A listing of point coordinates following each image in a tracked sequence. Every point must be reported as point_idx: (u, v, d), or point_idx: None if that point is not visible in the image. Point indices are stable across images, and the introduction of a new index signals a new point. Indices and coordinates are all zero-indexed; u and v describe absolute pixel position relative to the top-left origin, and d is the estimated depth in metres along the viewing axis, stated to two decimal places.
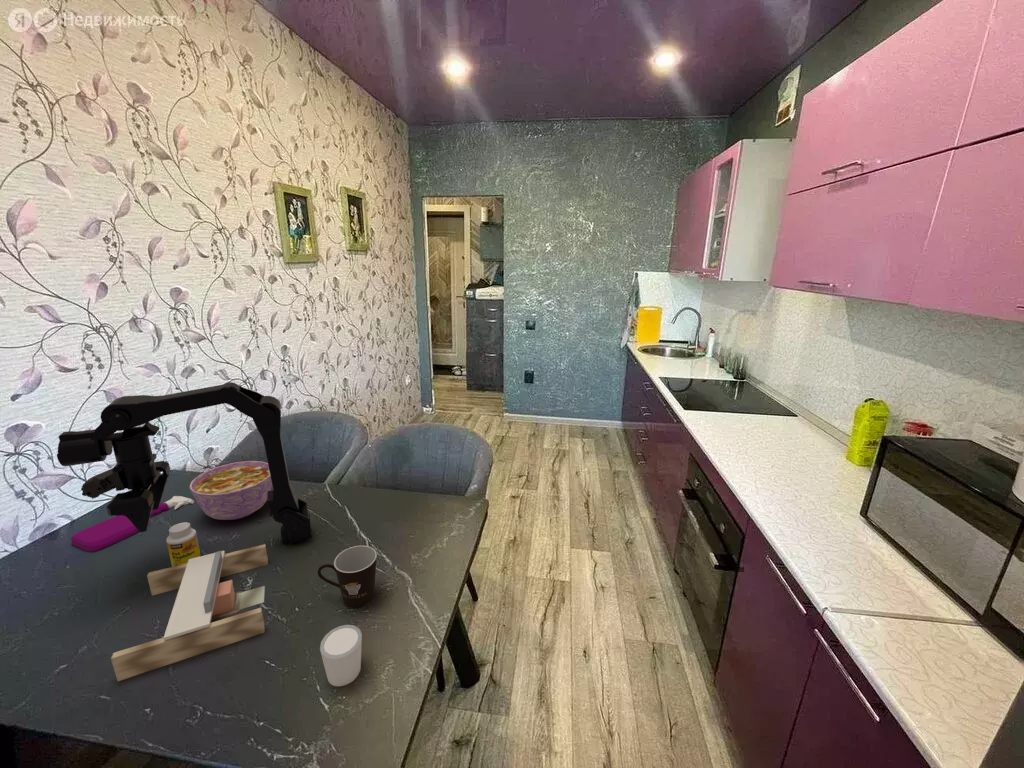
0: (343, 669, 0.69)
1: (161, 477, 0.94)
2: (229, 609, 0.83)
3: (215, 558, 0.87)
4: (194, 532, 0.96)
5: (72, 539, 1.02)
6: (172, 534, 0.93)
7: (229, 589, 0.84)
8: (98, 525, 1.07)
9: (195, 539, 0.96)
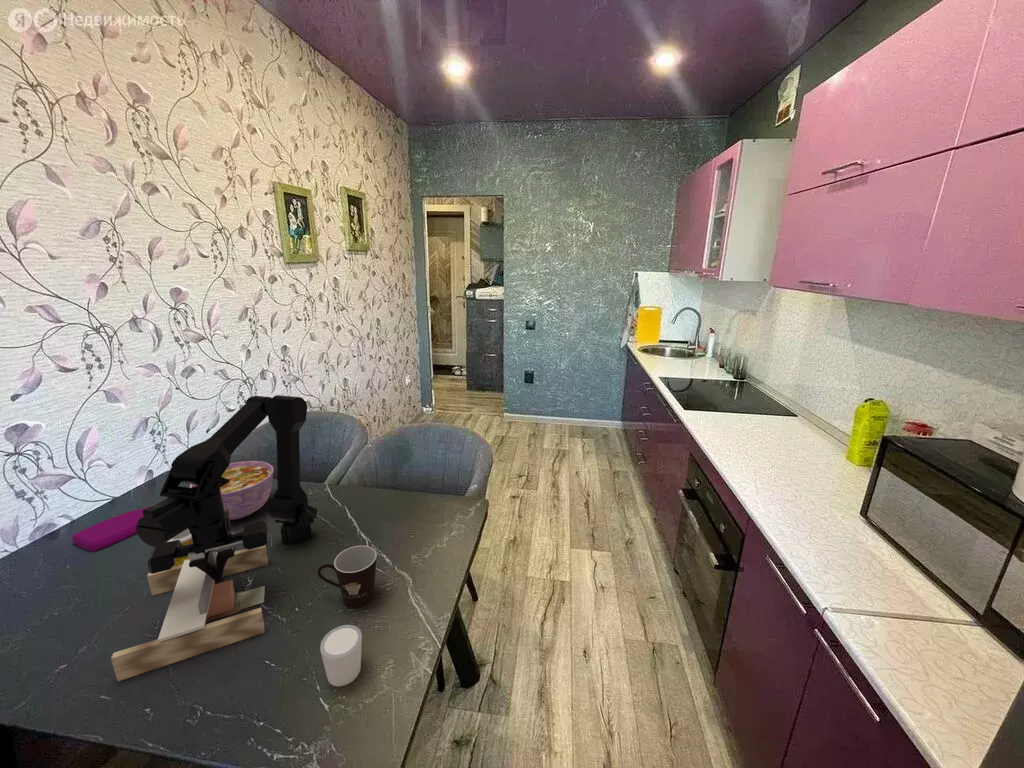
0: (343, 669, 0.69)
1: (224, 554, 0.80)
2: (229, 609, 0.83)
3: None
4: None
5: (73, 538, 1.02)
6: None
7: (229, 589, 0.84)
8: (99, 524, 1.07)
9: None
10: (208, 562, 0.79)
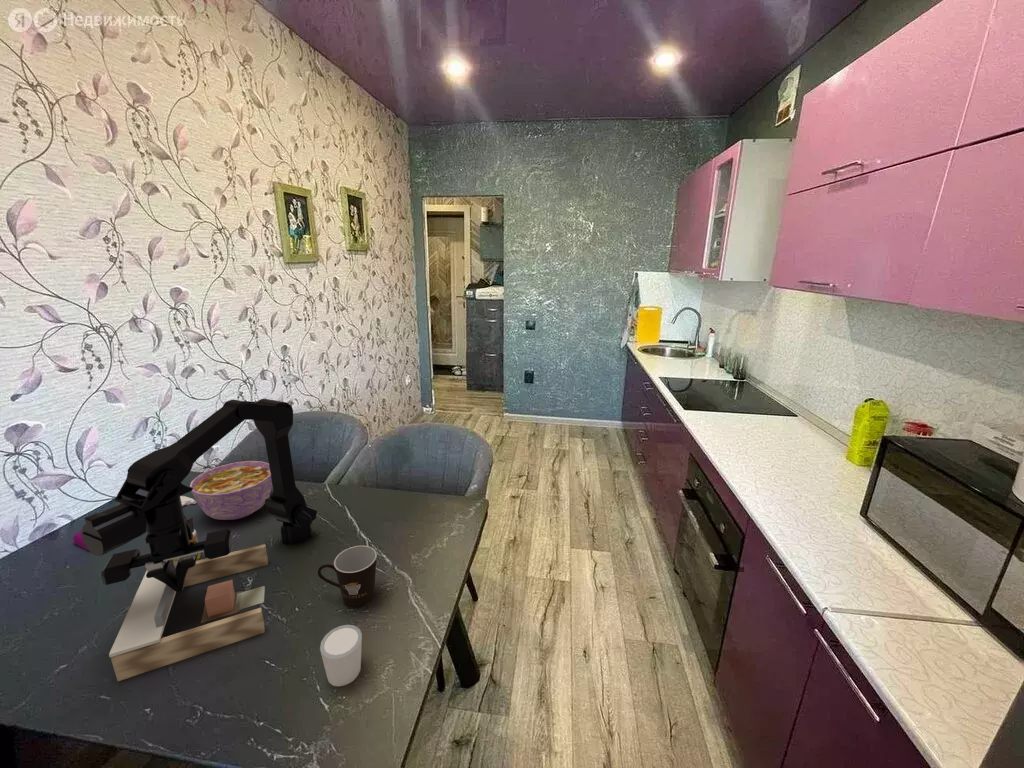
0: (343, 669, 0.69)
1: (184, 563, 0.78)
2: (229, 609, 0.83)
3: None
4: (194, 532, 0.96)
5: (74, 538, 1.02)
6: None
7: (229, 589, 0.84)
8: None
9: (195, 539, 0.96)
10: (167, 572, 0.76)
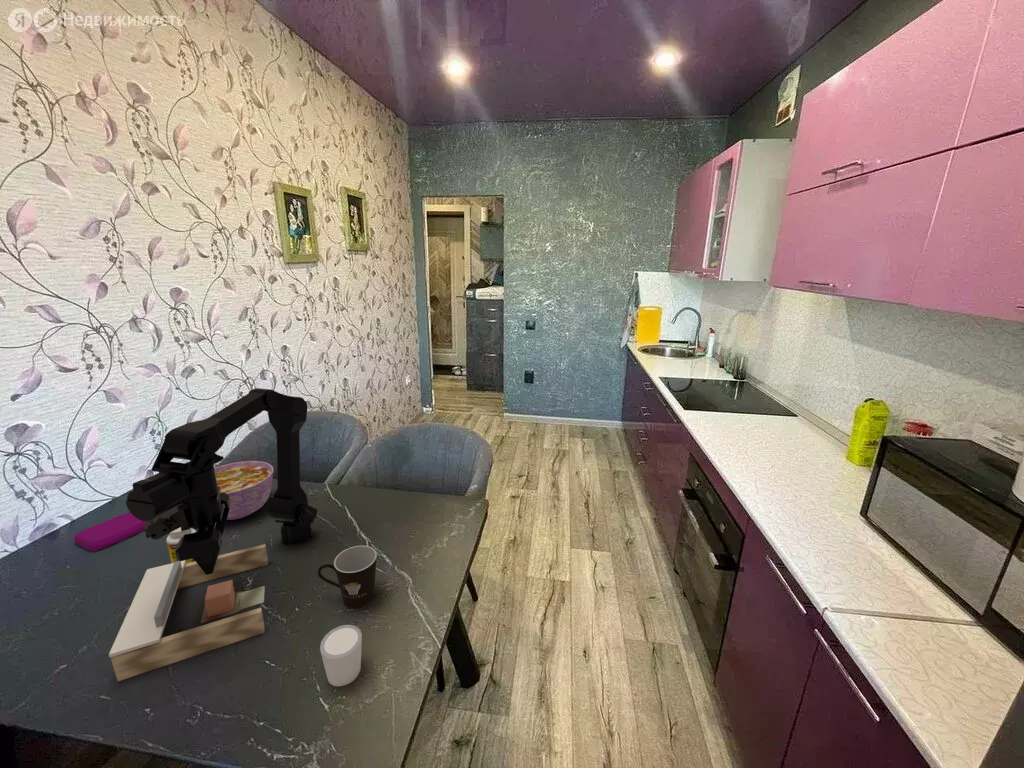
0: (343, 669, 0.69)
1: None
2: (229, 609, 0.83)
3: (173, 568, 0.83)
4: (194, 532, 0.96)
5: (75, 538, 1.02)
6: (172, 534, 0.93)
7: (229, 589, 0.84)
8: (101, 524, 1.07)
9: None
10: None
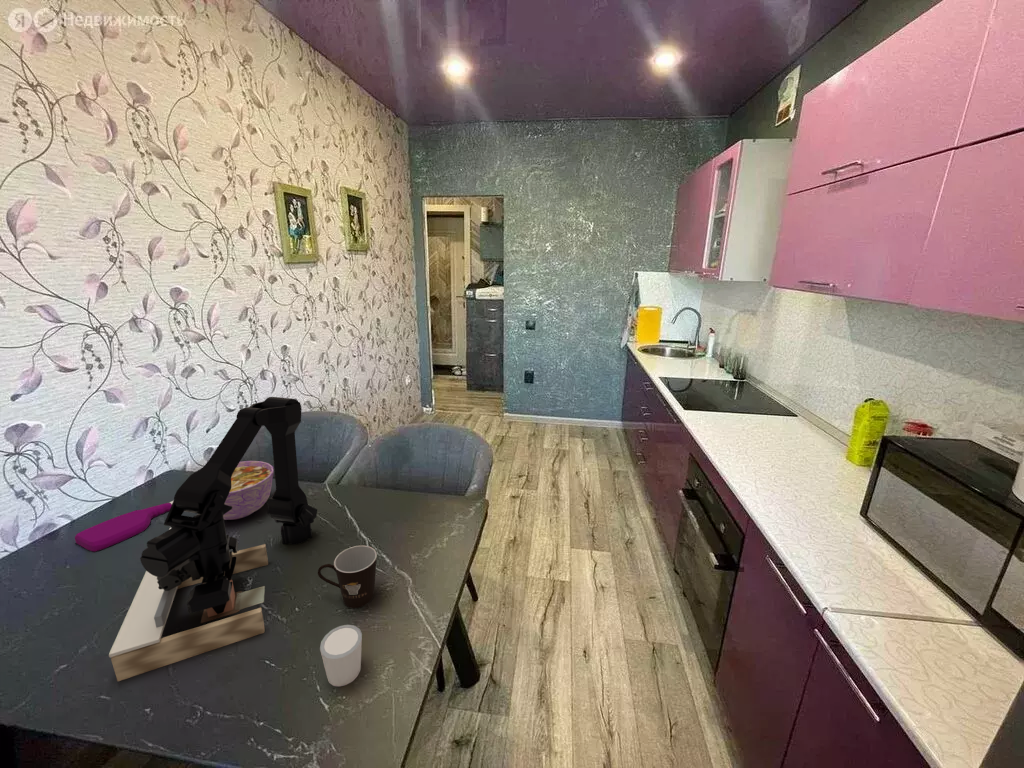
0: (343, 669, 0.69)
1: None
2: (229, 609, 0.83)
3: None
4: None
5: (76, 538, 1.02)
6: None
7: None
8: (102, 524, 1.07)
9: None
10: None
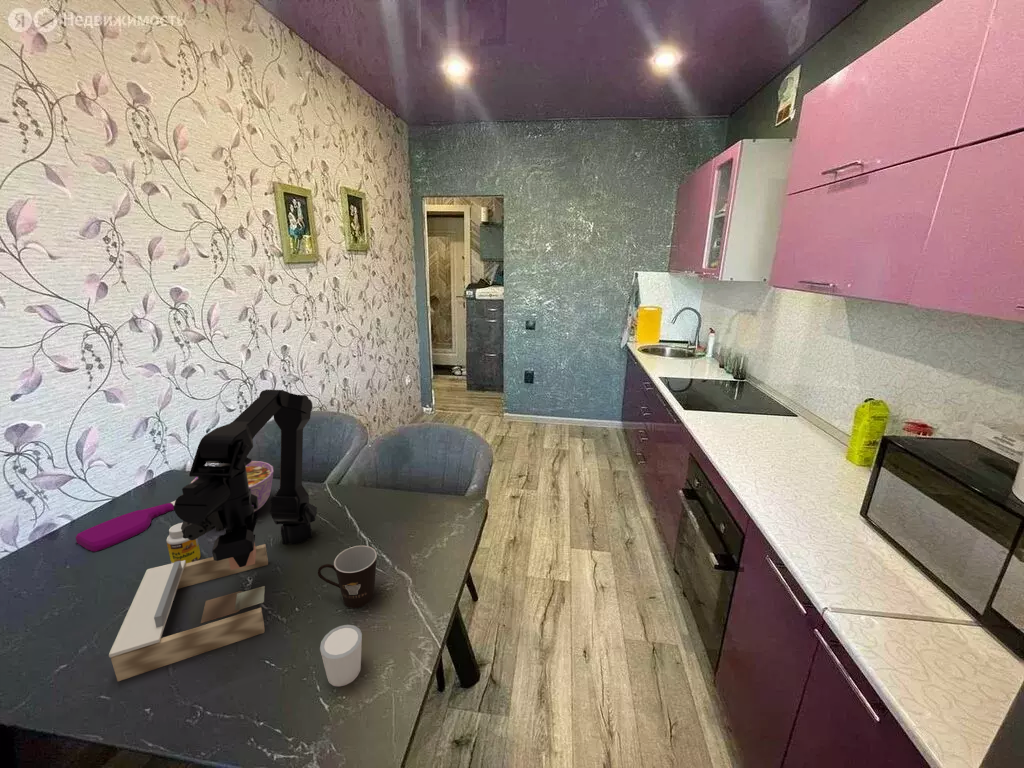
0: (343, 669, 0.69)
1: None
2: (251, 563, 0.83)
3: (173, 568, 0.83)
4: None
5: (76, 538, 1.02)
6: (172, 534, 0.93)
7: None
8: (103, 524, 1.07)
9: (195, 539, 0.96)
10: None
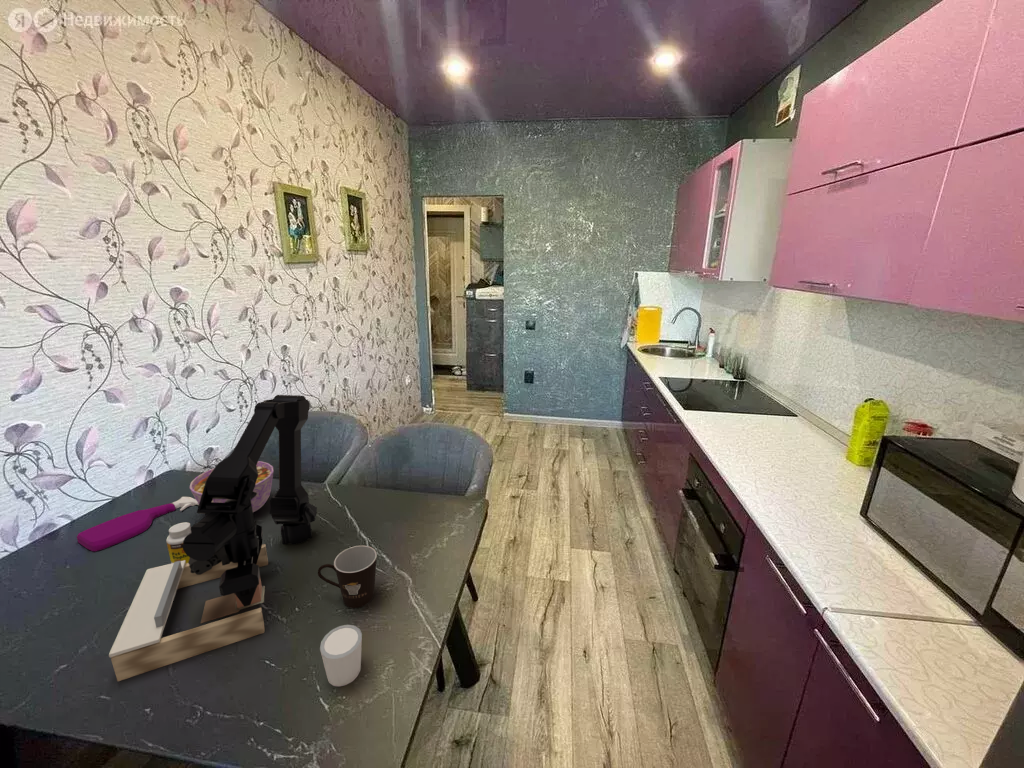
0: (343, 669, 0.69)
1: None
2: (257, 600, 0.86)
3: (173, 568, 0.83)
4: None
5: (77, 537, 1.03)
6: (172, 534, 0.93)
7: None
8: (104, 524, 1.07)
9: None
10: None
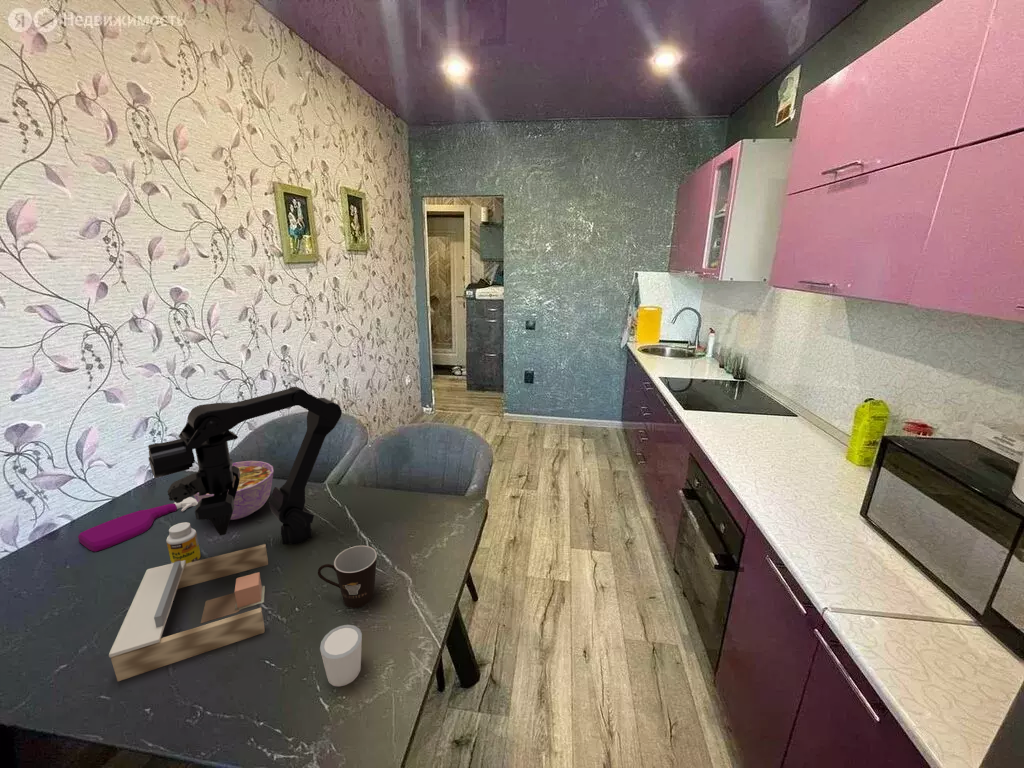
0: (343, 669, 0.69)
1: None
2: (257, 600, 0.86)
3: (173, 568, 0.83)
4: (194, 532, 0.96)
5: (79, 537, 1.03)
6: (172, 534, 0.93)
7: (257, 581, 0.86)
8: (106, 524, 1.07)
9: (195, 539, 0.96)
10: None
